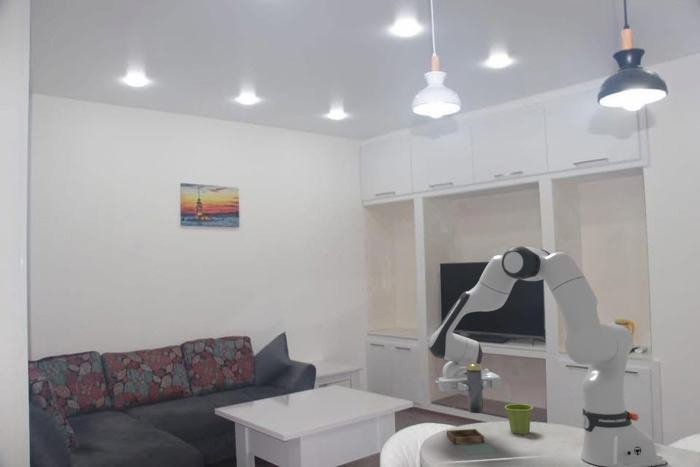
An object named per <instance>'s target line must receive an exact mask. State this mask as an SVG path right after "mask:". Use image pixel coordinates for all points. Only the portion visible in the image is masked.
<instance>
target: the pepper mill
mask: <svg viewBox="0 0 700 467" xmlns="http://www.w3.org/2000/svg"><path fill="white" fill-rule="evenodd" d="M482 366H483V365H482V364H481V363H480V364H476V363H472V364H466V370H467V383H468V385H469V391H468V394H467V398H468V400H467V402H468V412H469V413H471V414H481V413H484V412H485V411H484V397H483V396H484V395H483V394H484V392H483V390H482V373H481V370H482V369H483V368H482Z"/></svg>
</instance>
